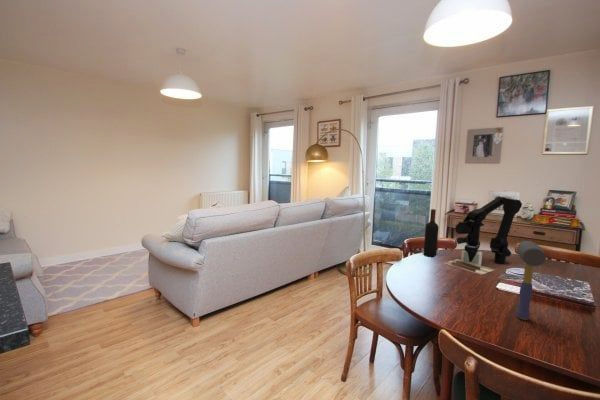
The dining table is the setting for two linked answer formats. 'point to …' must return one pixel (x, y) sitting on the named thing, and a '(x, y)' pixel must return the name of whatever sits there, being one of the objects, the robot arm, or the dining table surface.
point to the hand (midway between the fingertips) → (471, 259)
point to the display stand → (469, 267)
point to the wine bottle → (431, 236)
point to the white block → (475, 261)
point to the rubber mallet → (528, 274)
